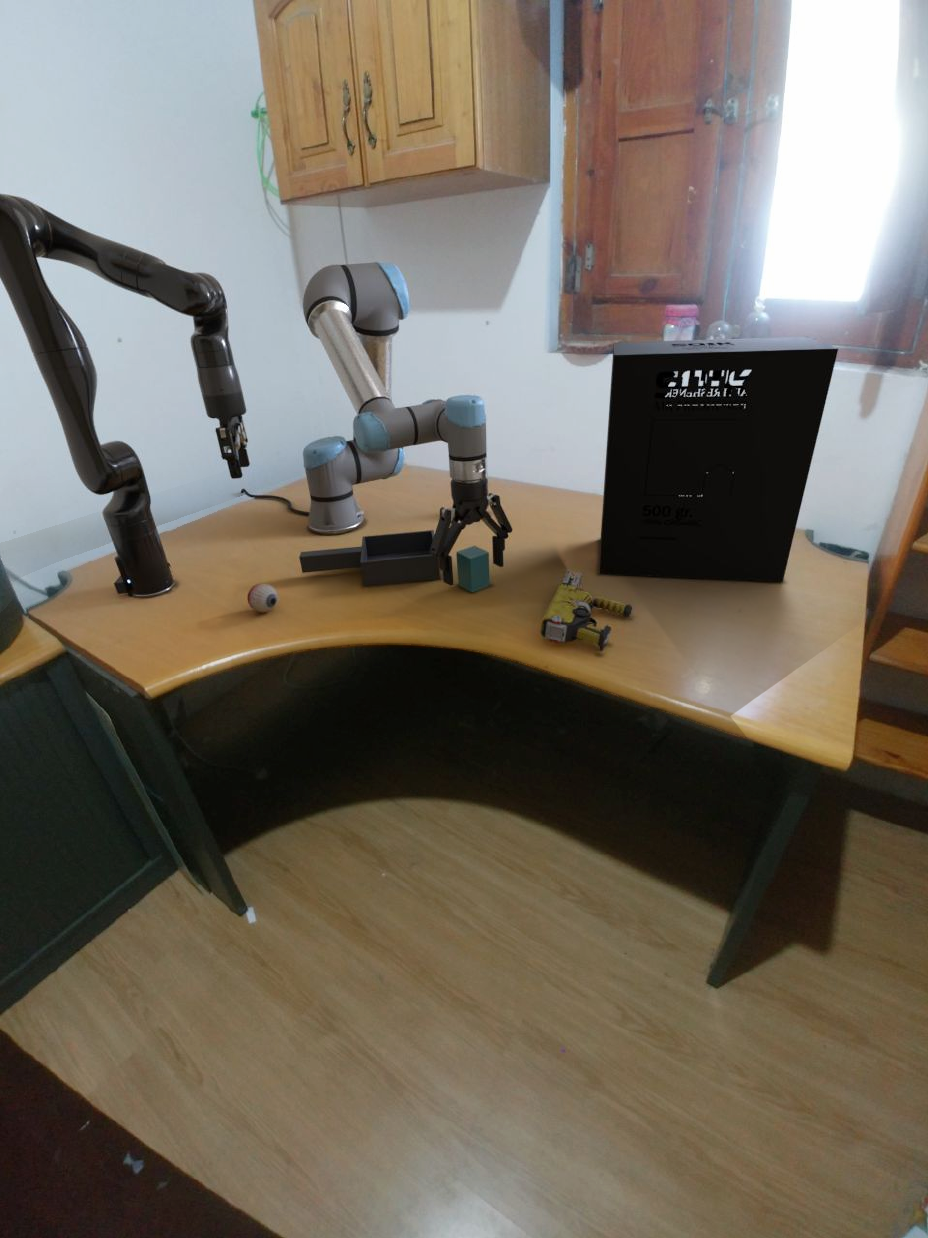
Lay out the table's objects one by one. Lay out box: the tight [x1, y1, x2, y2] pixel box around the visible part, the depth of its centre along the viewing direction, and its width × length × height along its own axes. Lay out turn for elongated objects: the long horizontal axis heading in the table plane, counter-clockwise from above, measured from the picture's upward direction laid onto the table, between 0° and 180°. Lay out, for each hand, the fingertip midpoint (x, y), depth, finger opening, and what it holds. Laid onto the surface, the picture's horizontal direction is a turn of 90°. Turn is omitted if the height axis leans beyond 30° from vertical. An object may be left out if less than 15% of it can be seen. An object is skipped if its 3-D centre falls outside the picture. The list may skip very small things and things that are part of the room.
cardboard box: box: [598, 335, 839, 583], centre depth 128 cm, size 38×20×45 cm, turn 78°
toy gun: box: [540, 570, 633, 652], centre depth 116 cm, size 5×24×15 cm
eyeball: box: [246, 583, 279, 613], centre depth 126 cm, size 6×6×6 cm
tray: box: [299, 529, 441, 587], centre depth 140 cm, size 31×15×6 cm, turn 96°
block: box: [455, 545, 491, 594], centre depth 131 cm, size 5×5×8 cm
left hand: (241, 472), depth 126 cm, fingers open, 8 cm apart
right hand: (474, 574), depth 131 cm, fingers open, 13 cm apart
